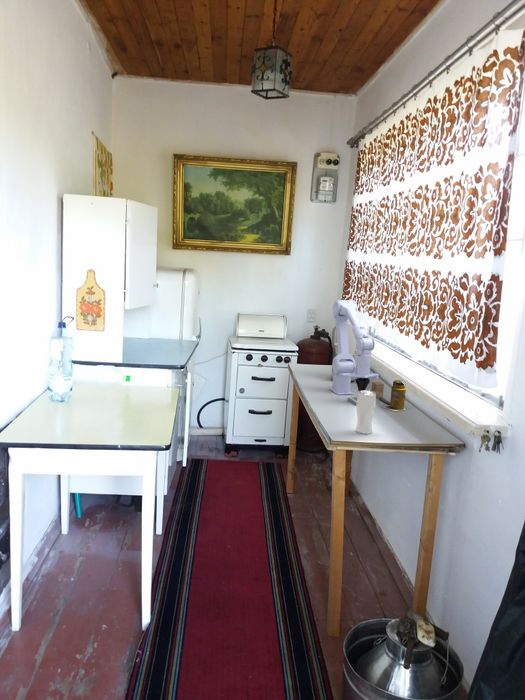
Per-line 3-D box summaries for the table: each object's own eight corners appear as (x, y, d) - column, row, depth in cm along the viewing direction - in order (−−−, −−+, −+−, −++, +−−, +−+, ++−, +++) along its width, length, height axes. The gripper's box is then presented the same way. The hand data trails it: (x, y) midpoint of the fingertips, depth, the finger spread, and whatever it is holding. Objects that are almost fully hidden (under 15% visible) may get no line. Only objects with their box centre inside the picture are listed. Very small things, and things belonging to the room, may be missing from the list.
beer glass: (351, 431, 196) (354, 392, 193) (358, 427, 201) (362, 389, 198) (368, 435, 192) (372, 396, 189) (376, 431, 197) (379, 392, 195)
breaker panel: (347, 400, 238) (347, 395, 238) (363, 399, 240) (363, 394, 240) (357, 406, 229) (357, 401, 228) (373, 405, 231) (374, 400, 230)
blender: (344, 376, 283) (348, 318, 277) (359, 382, 273) (364, 321, 267) (321, 379, 275) (325, 319, 269) (337, 385, 265) (341, 322, 259)
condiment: (408, 409, 228) (410, 382, 226) (394, 411, 223) (397, 384, 221) (395, 404, 234) (398, 378, 232) (382, 407, 229) (384, 380, 227)
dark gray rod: (378, 399, 242) (378, 396, 242) (380, 399, 242) (381, 396, 242) (388, 404, 233) (388, 402, 233) (390, 404, 233) (391, 402, 233)
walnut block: (370, 396, 246) (372, 382, 245) (378, 396, 247) (379, 381, 246) (374, 398, 242) (376, 384, 241) (382, 398, 243) (383, 383, 242)
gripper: (352, 366, 225) (350, 397, 228) (382, 366, 229) (380, 396, 232) (345, 363, 232) (343, 393, 235) (375, 362, 236) (372, 392, 239)
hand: (361, 394), depth 234 cm, fingers closed
